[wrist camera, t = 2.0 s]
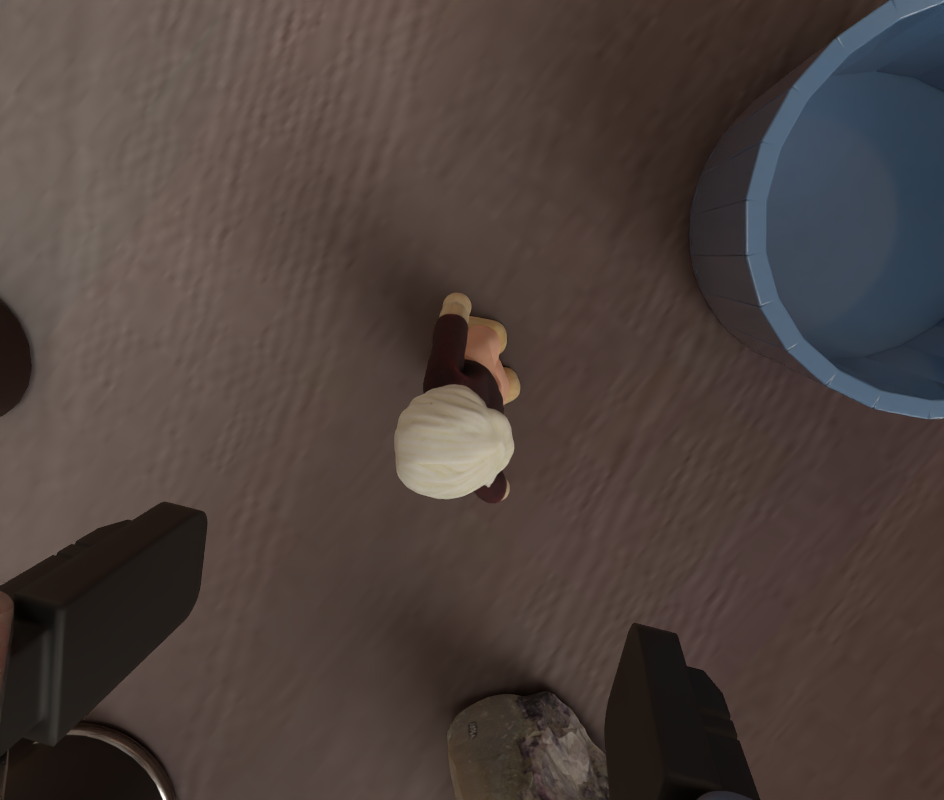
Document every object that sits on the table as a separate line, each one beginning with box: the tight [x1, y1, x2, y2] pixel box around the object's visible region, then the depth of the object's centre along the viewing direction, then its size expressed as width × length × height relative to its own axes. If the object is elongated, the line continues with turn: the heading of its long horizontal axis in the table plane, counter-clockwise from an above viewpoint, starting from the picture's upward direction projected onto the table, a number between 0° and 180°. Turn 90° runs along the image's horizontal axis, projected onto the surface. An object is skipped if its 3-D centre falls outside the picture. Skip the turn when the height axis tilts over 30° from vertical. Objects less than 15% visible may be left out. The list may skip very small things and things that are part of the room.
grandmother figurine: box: [394, 293, 520, 503], centre depth 24 cm, size 8×4×13 cm, turn 25°
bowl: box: [689, 0, 944, 419], centre depth 22 cm, size 12×12×8 cm
